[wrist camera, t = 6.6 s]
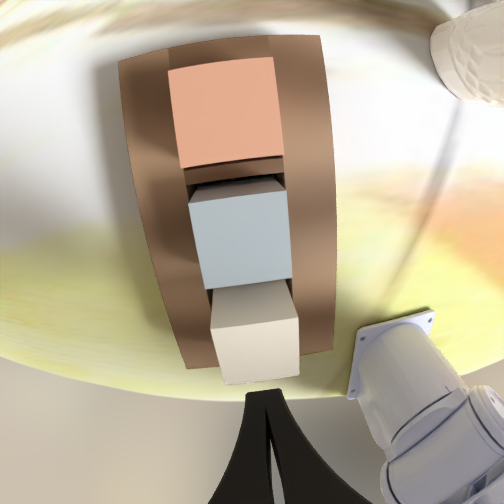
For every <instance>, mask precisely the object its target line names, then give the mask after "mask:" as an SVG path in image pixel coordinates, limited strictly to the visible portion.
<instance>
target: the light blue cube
mask: <svg viewBox="0 0 504 504" xmlns="http://www.w3.org/2000/svg"><path fill="white" fill-rule="evenodd" d="M188 206H189V211H190V217H191V222H192V227H193V233H194V238H195V243H196V248H197V253H198V258H199V263H200V268H201V272H202V277H203V282H204V286H205V289H212V288H220V287H228V286H236V285H243V284H251V283H258V282H266V281H273V280H280V279H287V278H293V277H292V260H291V244H290V230H289V216H288V204H287V192H286V190H285V189H284V188H283V187H282V186H281V185H280V184H279V183H278V182H277V181H276V179H275V178H274V177H273V176H272V177H263V178H255V179H247V180H239V181H231V182H224V183H217V184H210V185H204V186H198V188H197V190H196V191H195V193H194V195H193V196H192V198H191V200H190V201H189V203H188Z"/></svg>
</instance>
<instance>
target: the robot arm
mask: <svg viewBox="0 0 504 504" xmlns="http://www.w3.org/2000/svg"><path fill="white" fill-rule="evenodd" d="M434 317H435V311H434V310H432V309H430V310H427V311H423V312H420V313H416V314H413V315H409V316H405V317H402V318H398V319H394V320H390V321H386V322H382V323H378V324H374V325H369V326H365V327H362V328H360V329H359V330H358V331H357V334H356V341H355V348H354V355H353V362H352V368H351V374H350V379H349V385H348V390H347V399H349V400H351V399H355V398H357V399H358V402H359V404H360V407H361V409H362V411H363V414H364V416H365V418H366V421H367V423H368V426H369V428H370V431H371V433H372V436H373V438H374V440H375V442H376V443H377V444H378V445H379V446H380V447H381V448H382V449H384V450H385V451H384V452H385V454H386V456H387V459H388V460H387V461H386V462H385V464H384V465H383V467H382V469H381V474H380V485H381V491H382V494H383V497H384V499H385V501H386V503H387V504H504V401H503V400H502V399H501V397H500V396H499V395H498V394H497V393H496V392H495V391H494V390H492V389H491V388H490V387H488V386H486V385H484V386H479V385H476V386H474V387H473V388H472V389H471V390H470V389H469V388H468V387H467V386H466V384H465V383H464V381H463V380H462V379H461V377H460V376H459V375H458V373H457V372H456V371H455V369H454V368H453V367H452V365H451V364H450V363H449V361H448V360H447V359H446V357H445V356H444V355H443V354H442V352H441V351H440V350H439V349H438V347H437V346H436V345H435V343H434V342H433V341H432V340H431V338H430V337H429V334H430V331H431V327H432V324H433V320H434ZM363 336H364V337H363ZM361 337H363V338H361ZM270 439H271V443H272V447H273V451H274V455H275V459H276V463H277V467H278V470H279V474H280V477H281V482H282V487H283V493H284V499H285V504H372V503H371V502H369V501H368V500H367V499H365V498H364V497H363V496H361V495H360V494H359V493H358V492H356V491H355V490H354V489H353V488H351V487H350V486H349V485H348V484H347V483H346V482H345V481H344V480H343V479H341V478H340V477H339V476H338V475H337V474H336V473H335V472H334V471H333V470H332V469H331V468H330V467H329V466H328V464H327V463H326V462H325V461H324V460H323V459H322V458H321V456H320V455H319V454H318V453H317V451H316V450H315V449H314V448H313V446H312V445H311V444H310V442H309V441H308V440H307V438H306V437H305V435H304V434H303V432H302V431H301V429H300V427H299V426H298V425H297V423H296V421H295V419H294V417H293V416H292V414H291V412H290V410H289V408H288V406H287V404H286V401H285V399H284V396H283V394H282V390H281V389H279V388H277V389H270V390H263V391H255V392H248V393H247V394H246V398H245V408H244V414H243V420H242V424H241V428H240V431H239V435H238V439H237V442H236V445H235V448H234V451H233V454H232V456H231V459H230V461H229V464H228V466H227V469H226V471H225V473H224V475H223V477H222V479H221V481H220V483H219V485H218V487H217V489H216V491H215V492H214V494H213V496H212V498H211V499H210V501H209V502H208V504H274V497H273V490H272V473H271V446H270Z"/></svg>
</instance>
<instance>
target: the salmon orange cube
mask: <svg viewBox="0 0 504 504" xmlns="http://www.w3.org/2000/svg"><path fill="white" fill-rule="evenodd" d="M168 77H169V86H170V95H171V103H172V111H173V119H174V126H175V133H176V140H177V147H178V154H179V160H180V167H181V168H186V167H192V166H198V165H204V164H211V163H218V162H225V161H232V160H240V159H248V158H257V157H266V156H276V155H284V145H283V136H282V126H281V117H280V109H279V100H278V92H277V84H276V76H275V69H274V61H273V57H263V58H249V59H239V60H230V61H221V62H214V63H207V64H201V65H195V66H189V67H184V68H179V69H174V70H169V71H168Z"/></svg>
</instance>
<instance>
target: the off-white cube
mask: <svg viewBox="0 0 504 504" xmlns="http://www.w3.org/2000/svg"><path fill="white" fill-rule="evenodd" d="M210 330H211V334H212V338H213V342H214V346H215V350H216V353H217V357H218V361H219V365H220V368H221V372H222V375H223V379H224V383H225V385H233V384H243V383H251V382H259V381H266V380H273V379H280V378H286V377H292V376H298V375H300V373H299V322H298V315H297V312H296V309H295V306H294V304H293V301H292V298H291V295H290V292H289V290H288V287H287V284H286V281H285V279H280V280H273V281H266V282H258V283H251V284H243V285H236V286H228V287H220V288H213V300H212V313H211V325H210Z"/></svg>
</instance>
